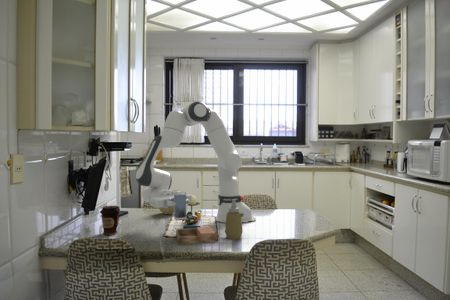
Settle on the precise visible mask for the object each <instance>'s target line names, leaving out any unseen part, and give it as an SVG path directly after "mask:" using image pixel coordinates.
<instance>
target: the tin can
mask: <svg viewBox="0 0 450 300" xmlns="http://www.w3.org/2000/svg"><path fill="white" fill-rule="evenodd" d="M186 193H187V191H181V190H180V191H178V192H174V201H175V202H177V203H176V204H177V205H176V206H174V213H173V215H174V216H173V217H174V218H173V219H174V220H176V221H185V220H187V204H186Z"/></svg>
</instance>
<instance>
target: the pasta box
mask: <svg viewBox="0 0 450 300" xmlns="http://www.w3.org/2000/svg"><path fill="white" fill-rule="evenodd" d="M211 227H212V226H198V227H196V228H197V236H208V235H215V231H216V230H215V229H214V228H213V227H212V228H213V229H214V230H215V231H214V230H213V229H212V228H211Z"/></svg>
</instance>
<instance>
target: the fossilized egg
mask: <svg viewBox="0 0 450 300" xmlns="http://www.w3.org/2000/svg"><path fill="white" fill-rule="evenodd" d="M169 190H171V188H170V189H169ZM158 209H159V211H160V213H161V212H162V213H163V214H165V215H171V214H174V206H170V207H168V208H162V207H161V208H158Z"/></svg>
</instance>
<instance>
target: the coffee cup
mask: <svg viewBox="0 0 450 300" xmlns="http://www.w3.org/2000/svg"><path fill="white" fill-rule="evenodd" d="M120 211H121V209H120V208H119V205H106V206H102V207H101V212H100V213H101V222H102V224H101V225H102V229H103V231H102V233H103V235H105V236H106V235H107V236H110V235H111V236H113V235H117V234H118V225H119V223H120V222H119V221H120V213H121V212H120Z"/></svg>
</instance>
